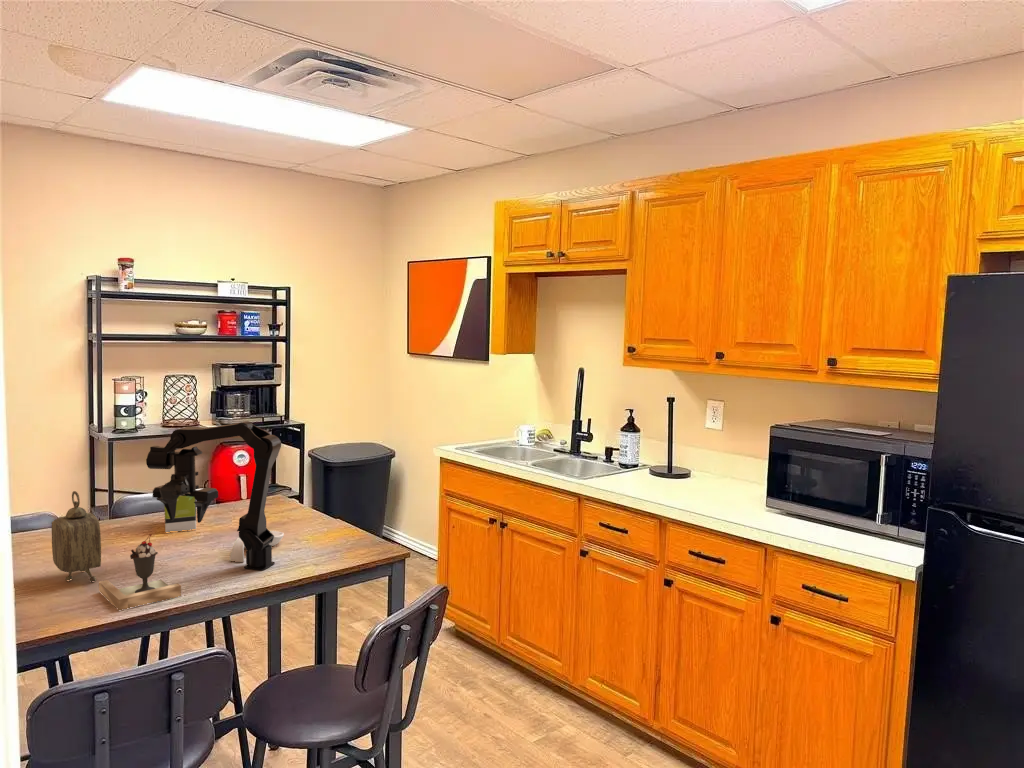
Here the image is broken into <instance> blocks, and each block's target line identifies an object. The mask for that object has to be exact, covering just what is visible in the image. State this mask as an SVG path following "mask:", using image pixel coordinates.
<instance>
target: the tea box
mask: <svg viewBox="0 0 1024 768" xmlns="http://www.w3.org/2000/svg"><path fill="white" fill-rule="evenodd" d="M166 483H167V482H165V483H164V485H165V484H166ZM195 501H196V499H195V497H191V496H179V497H178V498H177V504H176V514H175V519H174V520H171V519H170V517H169V514H168V512H167V510H166V507H165V506H164V505H163V507H164V508H163V509H164V529H165V531H164V532H170V531H182V530H190V529H191V530H192V529H196V530H197V506H196V504H195V503H194V502H195Z"/></svg>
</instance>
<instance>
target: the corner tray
mask: <svg viewBox="0 0 1024 768" xmlns="http://www.w3.org/2000/svg"><path fill="white" fill-rule="evenodd" d="M147 582H148V581H147ZM142 585H143V583H139V584H136V585H131V586H127V587H126V586H125V587H121V588H117V587H116V586H115V585H113V583H112V582H110V581H109V579H105V580H102V581H101V580H100V581H98V590H99V591H100V592H101V593H102V594H103V595H104V596H105V597H106V598H107V599H108V600H109V601H110V602H111V603H112V604H113V605H114V606H115V607H116V608H118V610H122V609H127V608H130V607H135V606H138V605H143V604H147V603H152V602H156V603H158V602H157V601H160V602H163V601H162V600H164V601H167V600H166V599H169V600H171V599H170V598H173V599H176V598H175V597H177V598H179V597H178V596H181V597H182V585H181V584H180V583H175V584H174V583H173V584H167V583H166V581H164V580H162V579H157V580H154V581H149V582H148V586H149V587H154V588H155V589H151V590H147V591H143V592H138V593H135V591H136V590H138V589H140V588H142ZM106 598H105V599H106ZM107 599H106V600H107ZM108 600H107V601H108ZM109 601H108V602H109ZM110 602H109V603H110ZM111 603H110V604H111ZM112 604H111V605H112ZM152 604H153V603H152ZM113 605H112V606H113ZM114 606H113V607H114ZM115 607H114V608H115ZM116 608H115V609H116ZM135 608H136V607H135ZM118 610H117V611H118ZM127 610H128V609H127Z"/></svg>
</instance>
